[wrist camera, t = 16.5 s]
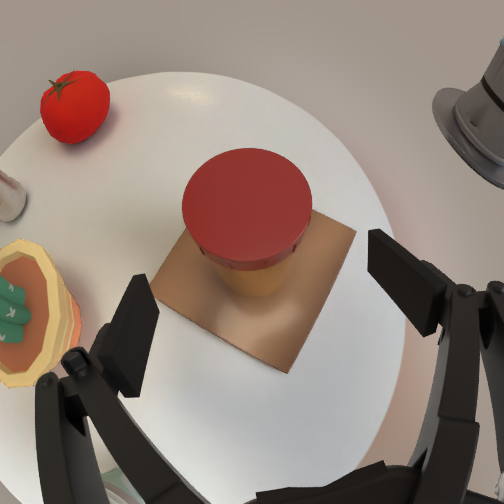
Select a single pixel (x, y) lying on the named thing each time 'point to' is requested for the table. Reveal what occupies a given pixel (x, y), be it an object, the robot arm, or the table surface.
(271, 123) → the table surface
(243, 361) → the table surface
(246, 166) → the jam lid
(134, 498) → the coffee cup
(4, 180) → the silver metal bottle
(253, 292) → the jar
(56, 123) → the tomato
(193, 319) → the plate
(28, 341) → the potted cactus
